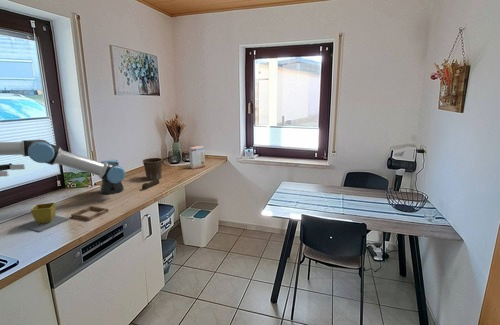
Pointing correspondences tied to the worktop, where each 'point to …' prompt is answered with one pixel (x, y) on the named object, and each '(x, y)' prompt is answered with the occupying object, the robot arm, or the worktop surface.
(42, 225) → the mat
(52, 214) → the flower pot
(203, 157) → the cracker box
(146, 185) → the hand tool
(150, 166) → the plant pot
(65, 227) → the worktop surface
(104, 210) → the square wooden frame
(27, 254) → the worktop surface
